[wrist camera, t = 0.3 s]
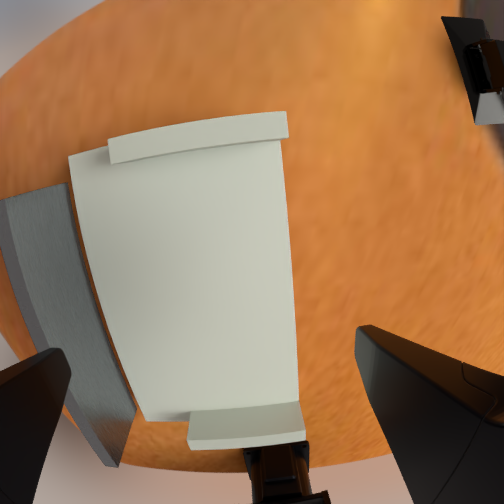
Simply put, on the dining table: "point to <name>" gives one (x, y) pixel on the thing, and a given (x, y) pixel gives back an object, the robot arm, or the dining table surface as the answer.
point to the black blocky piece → (479, 67)
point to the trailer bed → (198, 274)
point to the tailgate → (66, 313)
